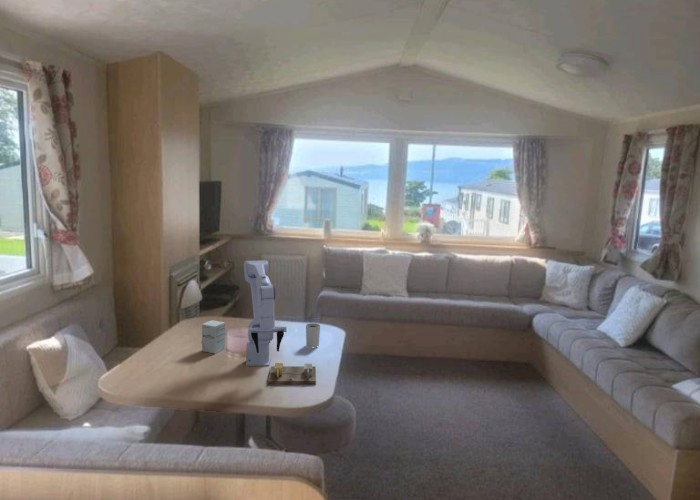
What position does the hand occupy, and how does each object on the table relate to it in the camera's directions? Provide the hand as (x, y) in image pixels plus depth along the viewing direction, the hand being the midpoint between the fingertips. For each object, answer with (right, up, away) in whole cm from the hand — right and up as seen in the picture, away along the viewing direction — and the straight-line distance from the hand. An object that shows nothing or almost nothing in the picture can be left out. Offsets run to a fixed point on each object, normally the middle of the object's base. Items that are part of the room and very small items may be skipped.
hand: (267, 351), depth 187 cm
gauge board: (+9, -11, +3) cm, 14 cm away
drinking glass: (+14, -6, +38) cm, 41 cm away
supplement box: (-29, -6, +28) cm, 41 cm away
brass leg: (+4, -9, +1) cm, 10 cm away
